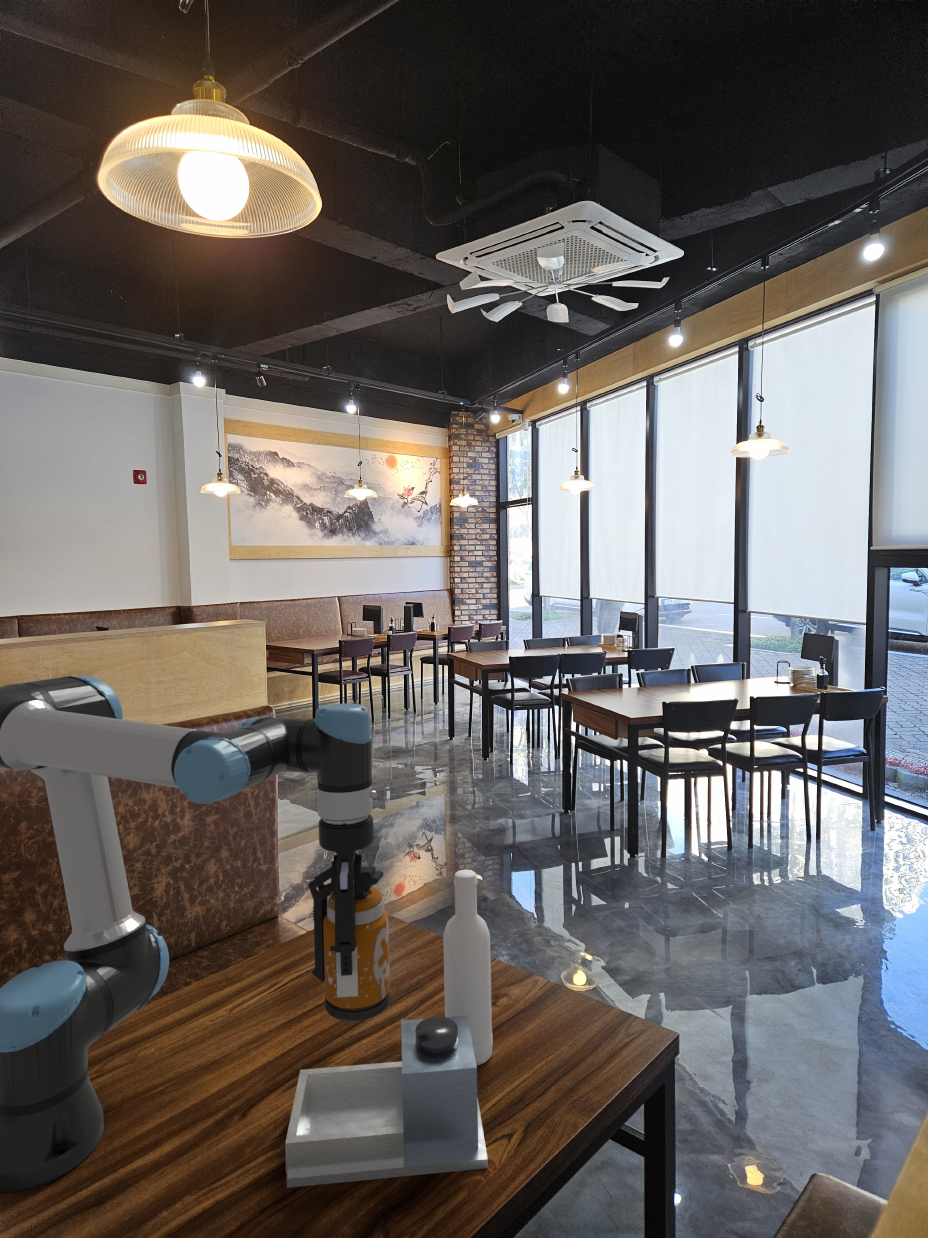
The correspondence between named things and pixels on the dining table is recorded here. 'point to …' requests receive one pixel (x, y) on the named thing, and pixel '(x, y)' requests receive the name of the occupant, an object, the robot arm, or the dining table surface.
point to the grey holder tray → (390, 1112)
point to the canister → (369, 947)
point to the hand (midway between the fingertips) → (350, 976)
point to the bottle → (469, 966)
